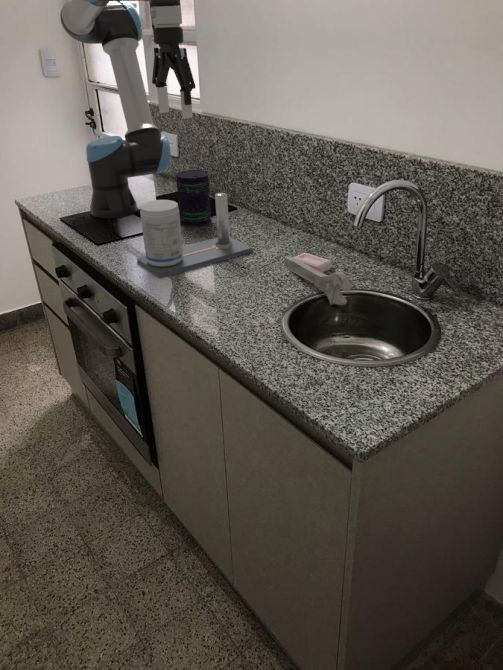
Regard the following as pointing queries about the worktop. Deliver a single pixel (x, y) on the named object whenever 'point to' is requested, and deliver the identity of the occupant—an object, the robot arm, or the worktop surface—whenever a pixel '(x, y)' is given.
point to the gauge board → (198, 256)
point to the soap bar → (314, 261)
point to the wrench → (321, 280)
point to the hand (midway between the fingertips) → (175, 115)
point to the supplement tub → (161, 232)
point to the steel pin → (222, 220)
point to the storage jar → (193, 198)
